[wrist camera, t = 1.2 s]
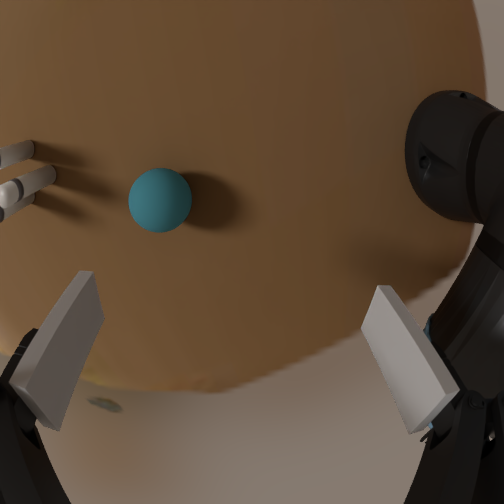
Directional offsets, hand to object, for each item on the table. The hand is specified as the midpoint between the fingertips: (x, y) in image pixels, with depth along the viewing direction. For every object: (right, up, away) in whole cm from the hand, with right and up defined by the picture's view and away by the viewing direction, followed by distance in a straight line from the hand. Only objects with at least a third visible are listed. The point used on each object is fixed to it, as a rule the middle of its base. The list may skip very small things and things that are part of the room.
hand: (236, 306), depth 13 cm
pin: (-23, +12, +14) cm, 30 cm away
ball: (-8, +7, +13) cm, 17 cm away
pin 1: (-27, +15, +13) cm, 33 cm away
